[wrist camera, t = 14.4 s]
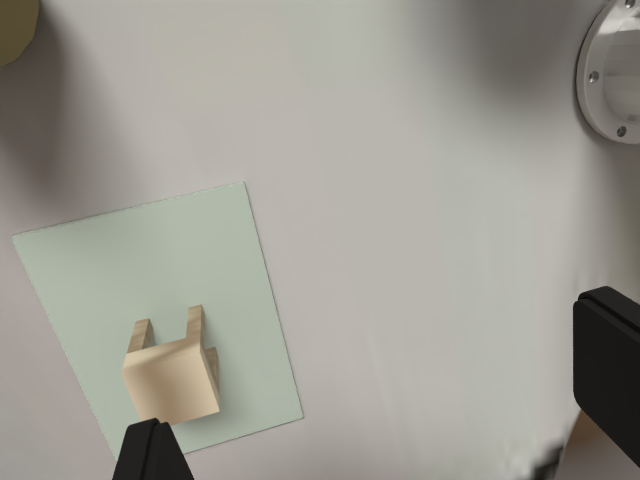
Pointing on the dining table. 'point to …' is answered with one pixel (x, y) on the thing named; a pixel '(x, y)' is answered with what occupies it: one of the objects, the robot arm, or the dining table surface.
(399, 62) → the dining table surface
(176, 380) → the stool
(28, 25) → the squeeze bottle
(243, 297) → the mat
